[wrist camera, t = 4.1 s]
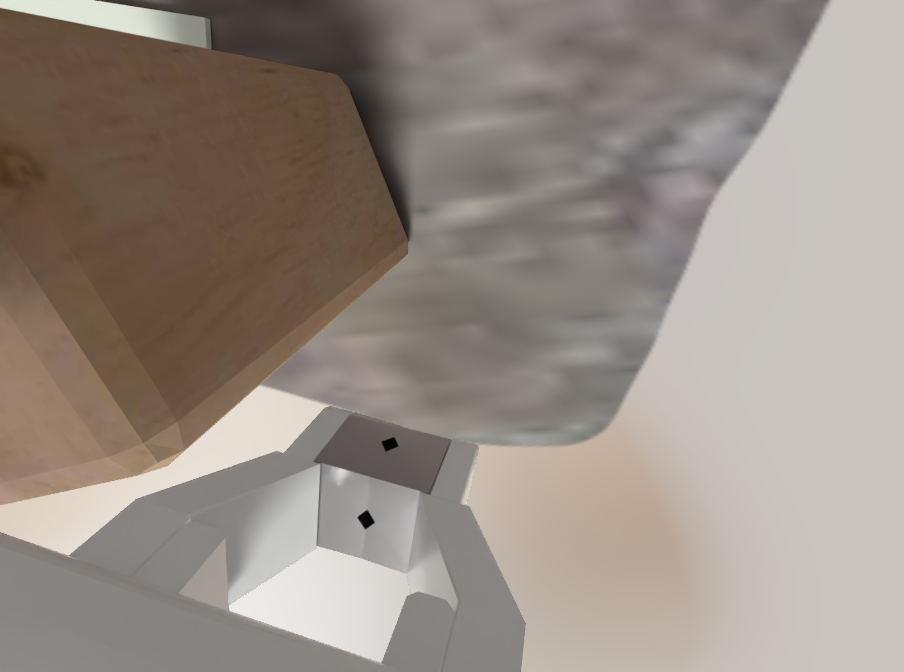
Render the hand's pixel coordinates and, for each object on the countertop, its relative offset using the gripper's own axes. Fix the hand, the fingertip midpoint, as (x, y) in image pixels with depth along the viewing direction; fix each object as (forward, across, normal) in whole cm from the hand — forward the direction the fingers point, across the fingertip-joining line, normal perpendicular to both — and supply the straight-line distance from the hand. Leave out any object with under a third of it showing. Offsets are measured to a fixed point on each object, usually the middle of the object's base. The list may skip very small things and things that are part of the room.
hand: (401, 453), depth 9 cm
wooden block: (+19, +12, 0) cm, 23 cm away
